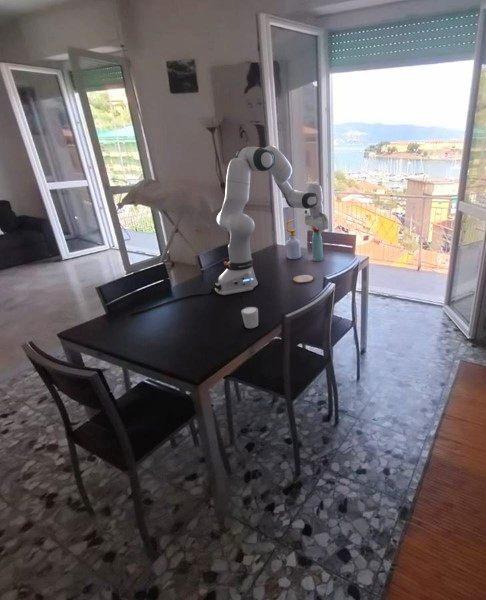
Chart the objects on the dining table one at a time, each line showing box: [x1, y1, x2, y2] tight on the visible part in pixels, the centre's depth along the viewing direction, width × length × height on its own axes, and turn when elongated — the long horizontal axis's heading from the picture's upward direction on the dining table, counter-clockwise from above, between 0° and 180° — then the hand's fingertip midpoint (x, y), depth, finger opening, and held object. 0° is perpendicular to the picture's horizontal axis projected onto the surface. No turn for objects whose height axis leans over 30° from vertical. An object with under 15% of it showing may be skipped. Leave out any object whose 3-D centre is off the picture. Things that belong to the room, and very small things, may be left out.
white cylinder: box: [240, 306, 259, 329], centre depth 148 cm, size 7×7×7 cm
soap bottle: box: [285, 218, 302, 260], centre depth 227 cm, size 9×9×25 cm
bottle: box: [311, 232, 324, 262], centre depth 222 cm, size 6×6×20 cm
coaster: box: [292, 274, 314, 284], centre depth 195 cm, size 11×11×1 cm
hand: (317, 234), depth 220 cm, fingers closed on bottle, 4 cm apart
